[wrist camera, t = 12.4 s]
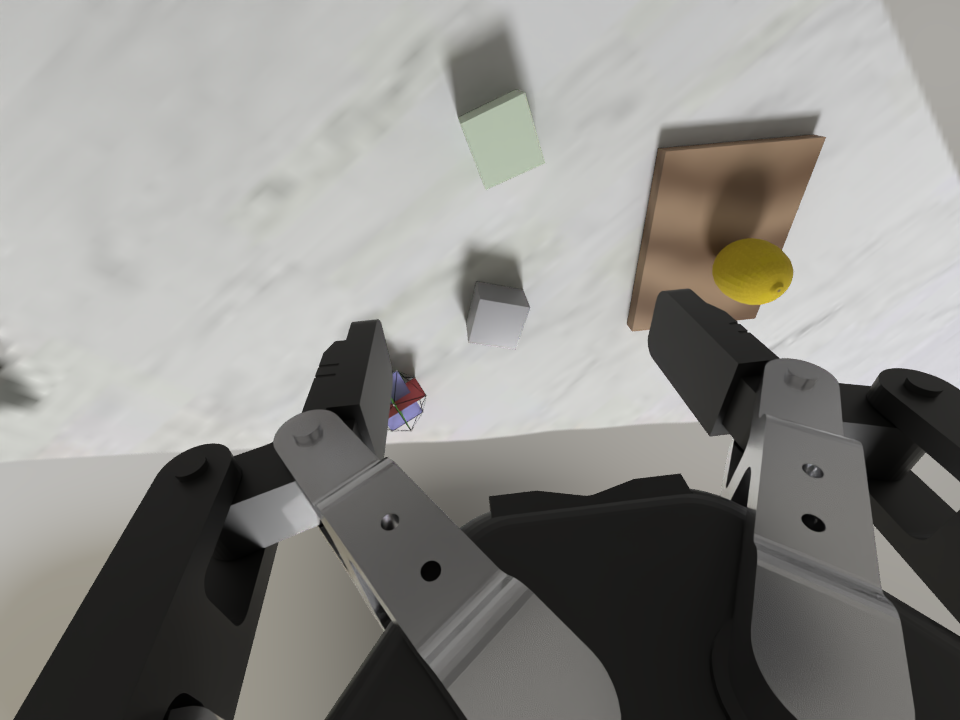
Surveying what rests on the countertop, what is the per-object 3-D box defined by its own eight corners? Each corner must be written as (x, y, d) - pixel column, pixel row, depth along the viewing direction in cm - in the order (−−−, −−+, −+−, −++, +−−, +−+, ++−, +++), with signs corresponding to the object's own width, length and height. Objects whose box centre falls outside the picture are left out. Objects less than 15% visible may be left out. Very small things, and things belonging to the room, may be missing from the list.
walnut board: (658, 148, 36) (665, 151, 35) (812, 134, 36) (825, 137, 35) (627, 324, 47) (632, 331, 45) (746, 311, 47) (755, 318, 46)
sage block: (457, 117, 33) (460, 123, 30) (515, 89, 32) (525, 92, 29) (481, 178, 36) (485, 190, 33) (534, 153, 35) (545, 163, 32)
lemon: (743, 214, 39) (806, 245, 32) (759, 257, 41) (820, 293, 35) (688, 251, 40) (737, 288, 34) (707, 290, 43) (756, 330, 37)
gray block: (476, 280, 42) (480, 299, 39) (522, 289, 43) (530, 307, 40) (465, 322, 45) (468, 342, 41) (509, 329, 46) (515, 349, 42)
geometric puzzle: (425, 358, 44) (378, 413, 40) (449, 402, 48) (409, 456, 44) (381, 352, 48) (334, 401, 44) (406, 393, 52) (366, 442, 48)
